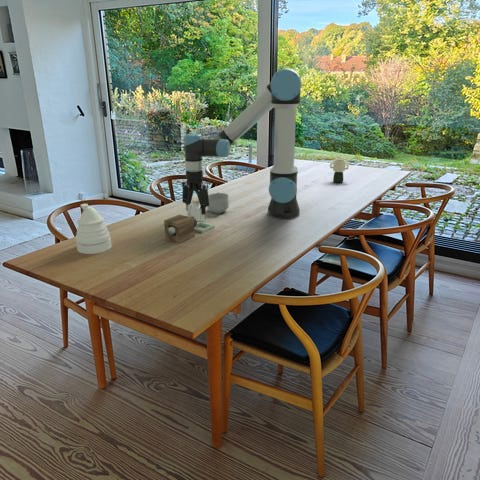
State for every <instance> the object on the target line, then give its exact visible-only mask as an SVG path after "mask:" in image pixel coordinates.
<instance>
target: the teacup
mask: <svg viewBox="0 0 480 480" xmlns="http://www.w3.org/2000/svg"><path fill="white" fill-rule="evenodd" d="M208 198H209V206H207V207H206V208H207V209H208V211H210V212H211V213H212V214H222V213H224V212H226V211H227V210H228V208H229V205H230V204H229V203H230V202H229V194H228V193H225V192H218V191H217V192H214V193H210V194H208Z"/></svg>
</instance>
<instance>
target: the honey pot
mask: <svg viewBox="0 0 480 480" xmlns="http://www.w3.org/2000/svg"><path fill="white" fill-rule="evenodd" d="M80 208H81V209H82V213H81V216H80V217H79V218H78V219H77V220H76V223H77V224H78V225H77V228H76V230H77V231H76V234H75V243H76V249H77V252H78V253H80V254H83V255H84V254H85V255H94V254H101V253H104V252H107V251H108V250H110V249H111V248H112V239H111V234H110V231H109V230H108V227H107V224H106V223H105V217H104V216H102V215H100V213H99V212H98V211H97V210H96V209H95V208H94V207H92V206H89V204H88V203H83V204H80ZM106 250H107V251H106Z"/></svg>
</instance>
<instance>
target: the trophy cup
mask: <svg viewBox="0 0 480 480" xmlns="http://www.w3.org/2000/svg"><path fill="white" fill-rule="evenodd" d="M329 164H330V165H329V168H330V169H332V171H333V178H332V181H333V182H335V183H341V182H344V172H345V171H346V170H349V166H350V165H349V164H348V163H346V159H341V158H337V159H333V162H330V163H329Z"/></svg>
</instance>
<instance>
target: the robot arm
mask: <svg viewBox="0 0 480 480" xmlns="http://www.w3.org/2000/svg"><path fill="white" fill-rule="evenodd" d="M301 88H302V80H301V76H300V74H299V72H297V70H295V69H294V68H289V67H283V68H281V69H278V70H277V71H276V72H275V73H273V75H272V78H271V81H270V82H269V84H267V85H266V86H265V90H264V91H263V92H262V93H261V94H260V95H259V96H258V97H257V98H255V100H254V101H253V102H251V103H250V104H249V105H248V106H247V107H246V108H245V109H244V110H243V111H241V112H240V114H239V115H238V116H236V117H235V118H234V119H233V120H232V121H231V122H230V123H229V124H228V125H226V126H225V128H224V129H222V131H220V132H219V133H218V134H217V135H216V136H215V137H213V138H203V137H202V134H201V133H187V134H185V135H184V144H183V146H184V159H185V160H184V164H185V178H186V180H183V181H182V182H181V185H182V196H181V197H182V201H181V202H182V203H183V204H185V207H186V208H185V209H186V212H187V216H188V217H191V207H192V206H193V204H192V200H193V195H194V192H195V194H196V195H197V199H199V206H201V207H200V208H199V213H200V221H199V222H202V223H203V222H204V221H206V217H205V216H206V208H208V207H207V206H209V198H208V195H209V184H205V183H204V182H203V178H204V171H203V158H205V157H207V158H208V157H210V158H227V157H229V156H230V153H231V146H233V144H234V143H236V141H238V140H239V139H240V138H241V137H242V136H243V135H245V134H246V133H247V132H248V131H249V130H250V129H251V128H253V126H254V125H256V124H257V122H259V121H260V120H261V119H262V118H263V117H265V115H266V114H268V113H269V112H270V111H271V110H272V109H273V108H274V133H273V135H274V136H273V138H274V140H273V141H274V142H273V145H274V146H273V166H272V167H271V168H270V170H269V185H268V193H269V196H270V201H269V204H268V207H267V215H268V216H269V217H271V218H276V219H294V218H296V217H299V216H300V214H301V213H300V212H301V211H300V207H299V206H300V205H299V203H298V199H297V191H298V174H299V173H298V172H299V171H298V167H297V166H296V165H295V147H296V145H295V144H296V120H297V118H296V117H297V108H298V106H299V105H301V91H302V90H301Z"/></svg>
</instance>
